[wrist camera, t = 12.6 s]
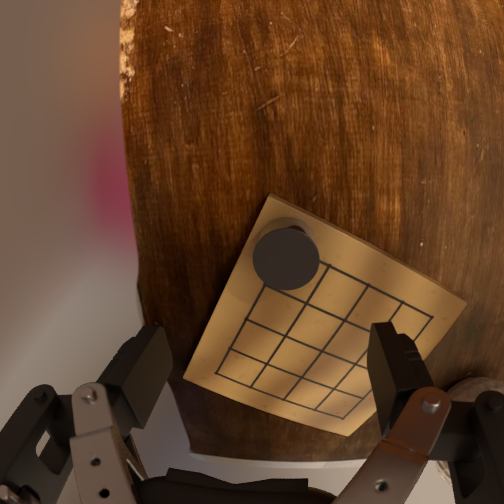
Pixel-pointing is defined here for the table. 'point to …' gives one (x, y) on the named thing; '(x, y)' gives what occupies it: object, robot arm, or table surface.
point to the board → (316, 327)
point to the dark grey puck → (286, 254)
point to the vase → (468, 393)
